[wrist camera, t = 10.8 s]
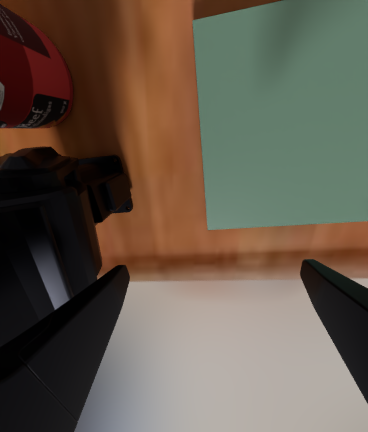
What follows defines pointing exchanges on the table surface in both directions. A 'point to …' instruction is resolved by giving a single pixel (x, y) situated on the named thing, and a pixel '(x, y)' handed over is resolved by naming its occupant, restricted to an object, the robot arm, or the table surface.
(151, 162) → the table surface
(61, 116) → the canned food
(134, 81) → the table surface
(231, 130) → the putting board
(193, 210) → the table surface
